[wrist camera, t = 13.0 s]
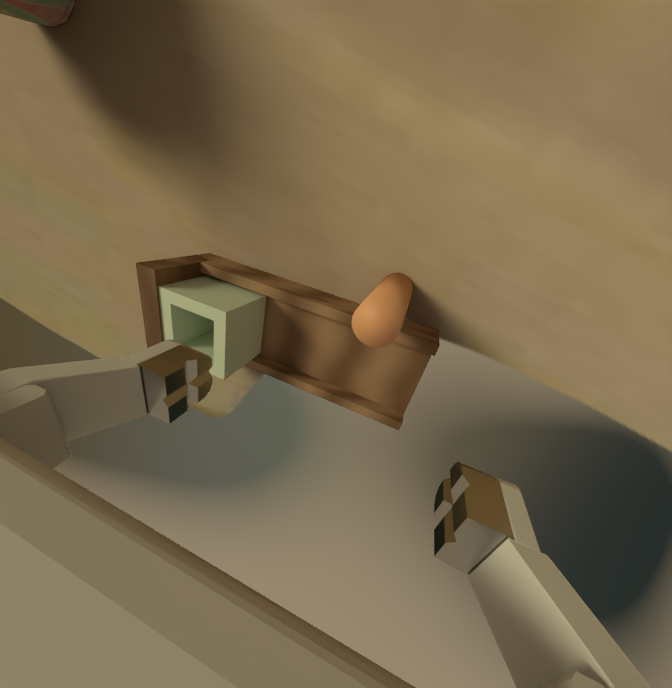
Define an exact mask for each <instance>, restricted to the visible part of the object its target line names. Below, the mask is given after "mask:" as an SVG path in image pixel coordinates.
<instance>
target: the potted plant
mask: <svg viewBox="0 0 672 688" xmlns="http://www.w3.org/2000/svg"><path fill="white" fill-rule="evenodd" d="M75 5H76V0H0V13H1V14H4V15H8V16H12V17H15V18H19V19H23V20H26V21H30V22H34V23H37V24H41V25H45V26H48V27H54V26H57V25H60V24H63V23H66V22H67V21H68V19H69V17H70V15H71V13H72V11H73V9H74V7H75Z"/></svg>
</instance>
